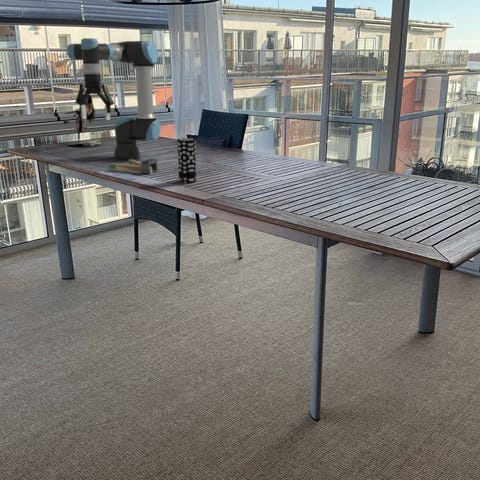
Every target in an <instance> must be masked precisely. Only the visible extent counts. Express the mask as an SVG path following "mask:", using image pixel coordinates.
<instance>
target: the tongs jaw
mask: <svg viewBox="0 0 480 480" xmlns="http://www.w3.org/2000/svg"><path fill="white" fill-rule="evenodd" d="M141 162H142V161H138V160H136V159H128V165H140V166H141Z"/></svg>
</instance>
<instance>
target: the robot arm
mask: <svg viewBox="0 0 480 480" xmlns="http://www.w3.org/2000/svg"><path fill="white" fill-rule="evenodd" d="M66 54H67V58H69V59H70V60H73V61H82V65H83V66H82V68H83V73H84V74H83V78H84V79H83V81H84V82H85V83H79V88H78V89H79V90H78V92H77V96H76V99H75V104H78V105H79V108H80V112H81V114H82V119H83V120H86V118H87V117H86V106H85V105H84V103H85V101H86V100H87V98H88V96H89V95H97V96H98V97H99V99H101V101H102V102H103V103H104V105H105V106H104V113H105V114H104V115H105V116H104V117H105V120H106V121H109V120H111V113H112V106H113V105H114V104H115V102H114V100H113V98H112V96H111V94H110V91H109V90H108V84H106V83H103V84H101V81H102V80H101V79H102V76H101V65H100V61H109V60H110V61H112V62H118V63H124V64H125V63H126V64H132V67H133V69H134V70H135V79H136V98H137V115H136V117H135V116H130V117H123V118H117V119H116V120H115V121H114V125H115V126H114V129H115V141H116V146H115V150H114V154H113V155H114V156H113V157H114V159H116V160H125V161H126V160H130V159H134V160H136V159H140V158H141V152H140V149H139V147H138V145H137V143H138V142H137V141H141V142H155V141H157V140H158V139H159V137H160V135H161V132H162V131H161V130H162V129H161V128H162V126H161V122H160V121H158V120H157V116H156V115H155V114H154V100H153V98H154V97H153V95H154V93H153V78H152V77H153V75H152V72H153V71H152V70H153V69H154V68H155V64H157V62H158V59H159V56H158V55H159V53H158V50H157V47H156V45H155V44H154V43H153V42H152V41H149V40H127V41H120V42H111V43H110V44H108V43H99V42H98V39H97V38H92V37H91V38H89V37H88V38H87V37H86V38H85V37H84V38H82V39H81V41H80V43H76V42H75V43H70V44H68V45H67V47H66ZM83 94H84V95H83ZM82 96H83V97H82Z"/></svg>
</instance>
